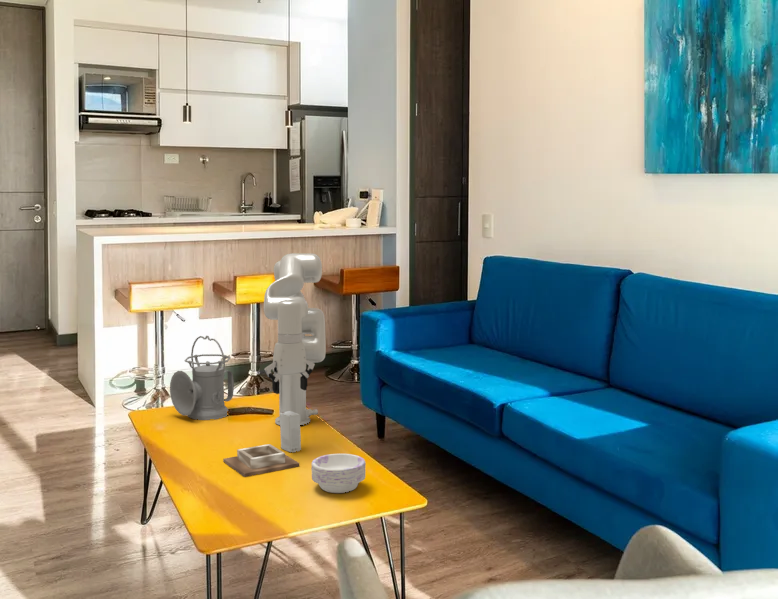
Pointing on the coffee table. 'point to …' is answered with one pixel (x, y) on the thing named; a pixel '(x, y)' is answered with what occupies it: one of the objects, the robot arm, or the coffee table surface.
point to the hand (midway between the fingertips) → (290, 391)
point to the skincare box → (290, 431)
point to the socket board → (260, 460)
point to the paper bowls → (338, 472)
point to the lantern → (202, 388)
